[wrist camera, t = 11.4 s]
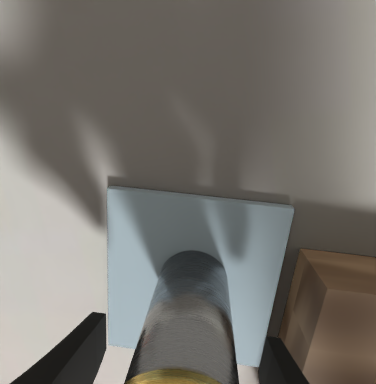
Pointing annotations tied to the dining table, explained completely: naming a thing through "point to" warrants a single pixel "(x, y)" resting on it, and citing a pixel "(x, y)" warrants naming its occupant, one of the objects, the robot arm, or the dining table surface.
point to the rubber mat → (199, 241)
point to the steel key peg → (187, 326)
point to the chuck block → (332, 317)
